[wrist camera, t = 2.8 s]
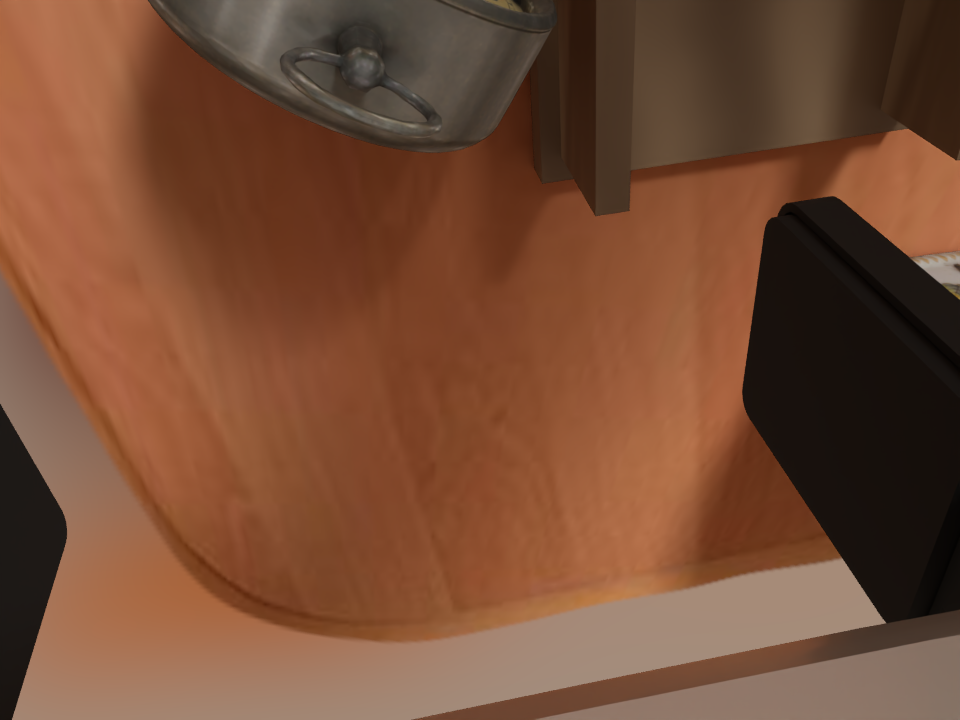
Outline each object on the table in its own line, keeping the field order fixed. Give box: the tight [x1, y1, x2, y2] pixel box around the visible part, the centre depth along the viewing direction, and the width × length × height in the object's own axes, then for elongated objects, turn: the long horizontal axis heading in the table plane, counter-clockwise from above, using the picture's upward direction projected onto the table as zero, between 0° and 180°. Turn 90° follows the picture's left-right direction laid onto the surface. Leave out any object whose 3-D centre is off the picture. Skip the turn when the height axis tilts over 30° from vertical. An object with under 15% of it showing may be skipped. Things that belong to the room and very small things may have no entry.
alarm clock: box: [148, 0, 557, 153], centre depth 21 cm, size 11×5×16 cm, turn 62°
